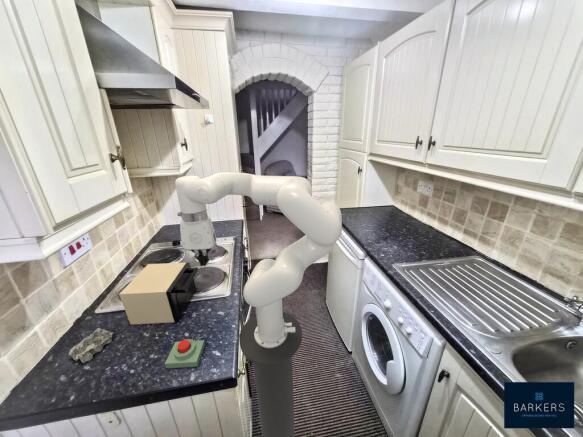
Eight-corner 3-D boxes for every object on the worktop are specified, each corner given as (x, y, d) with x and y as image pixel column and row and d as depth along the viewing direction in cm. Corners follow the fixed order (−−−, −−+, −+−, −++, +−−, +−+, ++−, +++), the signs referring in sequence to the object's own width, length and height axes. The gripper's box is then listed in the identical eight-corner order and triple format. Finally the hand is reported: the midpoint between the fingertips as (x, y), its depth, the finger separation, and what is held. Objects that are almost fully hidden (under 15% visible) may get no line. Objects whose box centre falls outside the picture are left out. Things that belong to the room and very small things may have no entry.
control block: (205, 344, 81) (203, 336, 79) (197, 366, 74) (195, 357, 72) (176, 346, 81) (174, 337, 79) (166, 368, 73) (163, 359, 72)
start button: (192, 343, 77) (191, 339, 77) (188, 353, 74) (187, 349, 73) (181, 343, 77) (180, 340, 77) (176, 353, 74) (175, 349, 73)
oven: (192, 289, 109) (186, 262, 104) (174, 322, 91) (165, 291, 85) (156, 291, 109) (147, 264, 103) (130, 324, 90) (118, 294, 84)
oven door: (205, 288, 109) (199, 262, 104) (189, 321, 91) (181, 291, 85) (192, 289, 109) (186, 262, 104) (174, 322, 91) (165, 292, 85)
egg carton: (85, 365, 75) (80, 356, 73) (69, 359, 77) (64, 350, 75) (116, 338, 84) (113, 330, 83) (102, 333, 86) (98, 325, 85)
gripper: (165, 220, 70) (178, 271, 76) (215, 218, 70) (223, 269, 77) (176, 211, 77) (186, 259, 83) (221, 210, 77) (228, 257, 84)
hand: (204, 263), depth 80 cm, fingers closed
